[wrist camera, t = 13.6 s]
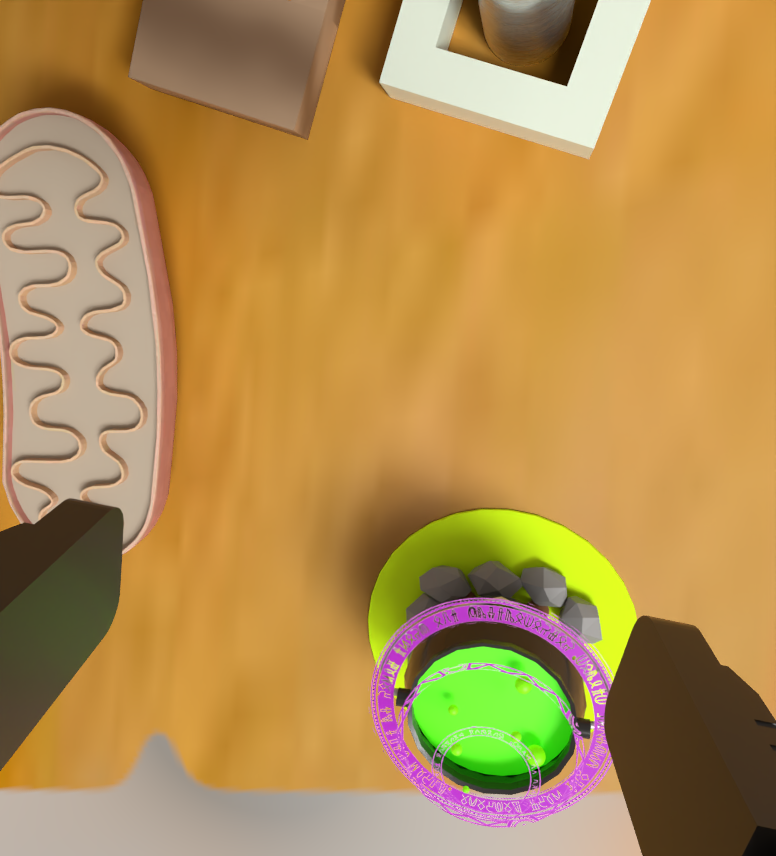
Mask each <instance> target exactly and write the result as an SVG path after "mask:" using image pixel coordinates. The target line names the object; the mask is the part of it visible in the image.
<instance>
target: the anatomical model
mask: <svg viewBox="0 0 776 856" xmlns="http://www.w3.org/2000/svg"><path fill="white" fill-rule="evenodd" d="M0 354H1V366H2V378H3V409H4V424H3V485H4V488H5V491H6V494H7V497H8V501H9V503H10V506H11V508H12V509H13V511H14V513H15V515H16V516H17V518H18V520H19V521H20V523H21V524H22V523H24V522H25V523H30V524H35V523H36V522H38V521H39V520H40V519H41V518H43V517H44V516H45V515H46V514H48V513H49V512H50V511H52V510H53V509H54V508H55V507H57V506H58V505H59V504H60V503H62V502H63V501H64V500H66V499H69V498H73V499H78V500H83V501H88V502H93V503H98V504H103V505H108V506H113V507H118V508H120V509H121V511H122V513H123V518H124V529H123V547H122V554H124V553H126V552H128V551H129V550H130V549H132V548H133V547H134V546H135V545H136V544H138V543H139V542H140V541H141V540H142V539H143V538H144V537H145V536H147V535H148V533H149V532H150V531H151V530H152V528H153V527H154V526H155V524H156V522H157V521H158V519H159V517H160V515H161V513H162V511H163V509H164V506H165V503H166V500H167V497H168V494H169V485H170V474H171V464H172V452H173V441H174V429H175V417H176V406H177V346H176V335H175V324H174V314H173V303H172V297H171V292H170V286H169V280H168V275H167V269H166V263H165V258H164V252H163V247H162V241H161V235H160V230H159V225H158V219H157V214H156V209H155V203H154V198H153V193H152V190H151V188H150V185H149V183H148V180H147V178H146V175H145V173H144V172H143V170H142V168H141V166H140V165H139V163H138V161H137V160H136V159H135V157H134V156H133V155H132V154H131V152H130V151H129V150H128V149H127V148H126V147H125V146H124V145H123V144H122V143H121V142H120V141H119V140H118V139H117V138H116V137H115V136H114V135H113V134H111V133H110V132H109V131H108V130H106V129H105V128H103V127H102V126H100V125H98V124H97V123H95V122H94V121H92V120H90V119H88V118H86V117H83V116H81V115H78V114H76V113H73V112H70V111H67V110H63V109H57V108H51V107H49V108H35V109H31V110H27V111H24V112H21V113H18V114H17V115H15V116H13V117H11V118H10V119H8V120H7V121H6V122H5V123H3V124H2V125H1V126H0Z"/></svg>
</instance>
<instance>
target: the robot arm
mask: <svg viewBox="0 0 776 856" xmlns="http://www.w3.org/2000/svg"><path fill="white" fill-rule="evenodd" d="M123 529H124V518H123V513H122V511H121V509H120V508H118V507H113V506H108V505H103V504H98V503H93V502H88V501H83V500H78V499H73V498H69V499H66V500H64V501H63V502H62V503H60V504H59V505H58V506H57V507H55V508H54V509H53V510H52V511H50V512H49V513H48V514H46V515H45V516H44V517H43V518H41V519H40V520H39V521H38V522H36V523H35V524H30V523H25V522H24V523H22V524H19V525H16V526H14V527H11V528H9V529H6V530H3V531H1V532H0V771H1V769H2V768H3V767H4V766H5V764H6V763H7V762H8V760H9V759H10V758H11V757H12V755H13V754H14V753H15V751H16V750H17V749H18V747H19V746H20V745H21V744H22V742H23V741H24V740H25V738H26V737H27V736H28V735H29V733H30V732H31V731H32V729H33V728H34V727H35V726H36V724H37V723H38V722H39V720H40V719H41V718H42V716H43V715H44V714H45V713H46V711H47V710H48V709H49V707H50V706H51V705H52V704H53V702H54V701H55V700H56V698H57V697H58V696H59V695H60V693H61V692H62V691H63V689H64V688H65V687H66V685H67V684H68V683H69V682H70V680H71V679H72V678H73V676H74V675H75V674H76V673H77V671H78V670H79V669H80V667H81V666H82V665H83V663H84V662H85V661H86V660H87V658H88V657H89V656H90V654H91V653H92V652H93V651H94V649H95V648H96V647H97V645H98V644H99V643H100V642H101V640H102V639H103V638H104V636H105V635H106V633H107V632H108V630H109V628H110V626H111V624H112V621H113V619H114V616H115V613H116V610H117V607H118V602H119V596H120V582H121V564H122V547H123ZM604 728H605V736H606V740H607V744H608V747H609V750H610V753H611V757H612V760H613V763H614V766H615V769H616V773H617V776H618V779H619V782H620V785H621V788H622V792H623V795H624V798H625V801H626V804H627V808H628V811H629V814H630V817H631V820H632V823H633V826H634V830H635V833H636V836H637V839H638V842H639V846H640V849H641V852H642V855H643V856H776V720H775V719H774V717H773V716H772V714H771V713H770V711H769V710H768V708H767V707H766V705H765V704H764V702H763V701H762V699H761V697H760V696H759V694H757V693H756V692H755V691H754V690H753V689H752V688H751V687H750V686H749V685H748V684H747V683H746V682H744V681H743V680H742V679H741V678H740V677H739V676H738V675H737V674H736V673H735V672H734V671H732V670H731V669H730V668H729V667H728V666H723V665H720V663H719V661H718V660H717V658H716V657H715V655H714V653H713V652H712V650H711V648H710V647H709V645H708V644H707V642H706V640H705V639H704V637H703V635H702V634H701V632H700V631H699V629H698V628H697V627H695V626H693V625H689V624H684V623H680V622H675V621H670V620H665V619H660V618H655V617H650V616H641V617H640V618H639V619H638V620H637V621H636V623H635V624H634V626H633V629H632V631H631V634H630V637H629V639H628V642H627V645H626V647H625V650H624V653H623V656H622V658H621V661H620V664H619V666H618V669H617V672H616V674H615V677H614V680H613V682H612V685H611V688H610V691H609V693H608V696H607V700H606V705H605V713H604Z"/></svg>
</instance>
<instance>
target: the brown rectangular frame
mask: <svg viewBox="0 0 776 856" xmlns="http://www.w3.org/2000/svg"><path fill="white" fill-rule="evenodd" d="M344 3H345V0H291V1H289V0H143V3H142V9H141V14H140V19H139V24H138V29H137V34H136V39H135V45H134V50H133V55H132V60H131V65H130V70H129V75H128V77H129V78H131V79H133V80H135V81H137V82H139V83H141V84H143V85H145V86H147V87H149V88H151V89H154V90H157V91H160V92H163V93H166V94H169V95H172V96H175V97H178V98H181V99H184V100H188V101H191V102H194V103H197V104H200V105H203V106H206V107H209V108H212V109H215V110H218V111H221V112H224V113H227V114H231V115H234V116H237V117H240V118H243V119H246V120H249V121H252V122H255V123H258V124H261V125H264V126H267V127H270V128H273V129H277V130H280V131H283V132H286V133H289V134H292V135H295V136H298V137H301V138H304V139H307V140H308V137H309V133H310V129H311V126H312V122H313V118H314V115H315V111H316V107H317V103H318V100H319V96H320V92H321V89H322V85H323V81H324V77H325V74H326V70H327V66H328V63H329V59H330V55H331V52H332V48H333V44H334V40H335V37H336V33H337V29H338V26H339V22H340V18H341V14H342V11H343V7H344Z"/></svg>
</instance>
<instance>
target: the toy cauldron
mask: <svg viewBox="0 0 776 856" xmlns="http://www.w3.org/2000/svg"><path fill="white" fill-rule="evenodd" d="M636 621H637V618H636V613H635V608H634V605H633V602H632V600H631V598H630V596H629V593H628V591H627V589H626V586H625V584H624V582H623V581H622V579H621V578H620V576H619V575H618V574H617V572H616V571H615V569H614V568H613V567H612V565H611V564H610V562H609V561H608V560H607V559H606V558H605V557H604V556H603V555H602V554H601V553H600V552H599V551H598V550H597V549H596V548H595V547H594V546H592V545H591V544H590V543H589V542H588V541H587V540H586V539H584V538H582V537H581V536H579V535H578V534H576V533H575V532H573V531H571V530H570V529H568V528H567V527H565V526H564V525H561V524H559V523H556V522H554V521H551V520H549V519H546V518H544V517H541V516H539V515H536V514H531V513H526V512H521V511H516V510H511V509H477V510H471V511H465V512H459V513H454V514H452V515H449V516H447V517H444V518H441V519H439V520H436V521H433V522H431V523H429V524H428V525H426V526H425V527H423V528H421V529H420V530H418V531H417V532H415V533H414V534H412V535H410V536H409V537H408V538H407V539H406V540H405V541H404V542H403V543H402V544H401V545H400V546H399V547H398V548H397V549H396V550H395V551H394V552H393V553H392V554H391V556H390V558H389V559H388V561H387V562H386V564H385V565H384V567H383V568H382V570H381V571H380V573H379V576H378V578H377V581H376V584H375V586H374V589H373V592H372V595H371V601H370V608H369V615H368V626H369V641H370V645H371V648H372V652H373V656H374V659H375V663H376V666H375V670H374V674H375V671H376V667H378V668H377V669H378V671H377V675H375V676H376V678H375V682H374V683H375V685H373V679H374V674H373V678H372V685H371V708H372V714H373V708H375V710H374V712H375V714H373V719H374V723H375V719H377V721H376V722H377V723H378V724H377V725H376V723H375V727H376V729H377V726H378V727H379V728H378V729H379V730H380V732H378V729H377V733H378V735H379V733H381V735H379V737H380V736H382V737H383V738H382V739H383V742H385V744H383V742H382V740H381V737H380V740H381V742H382V744H383V746H384V745H386V746H387V747H385V746H384V748H385V750H386V751H387V749H386V748H388V749H389V750H388V751H389V752H390V753H391V754H389V753H388V751H387V753H388V755H389V756H390V755H392V756H393V757H391V756H390V758H391V759H392V758H394V759H395V760H393V759H392V761H393V762H394V761H397V764H399V765H400V766H399V767H401V768H402V770H404V771H405V773H407V776H410V779H411V780H412V779H413V782H414V781H415V782H416V784H418V785H419V787H420V788H419V787H418V786H417V785H416V784H414V783H413V782H412V781H411V780H410V779H409V778H408V777H407V776H406V775H405V774H404V773H403V772H402V770H401V769H400V768H399V767H398V766H397V764H396V763H395V762H394V763H395V765H396V766H397V767H398V768H399V770H400V771H401V772H402V773H403V774H404V775H405V776H406V777H407V778H408V779H409V780H410V781H411V782H412V783H413V784H414V785H415V786H416V787H418V788H419V789H420V790H421V791H422V793H423V794H424V795H425V793H426V792H424V791H423V789H425V790H426V791H428V790H427V789H426V788H425V787H424V786H423V785H422V784H424V783H425V784H424V785H425V786H426V787H427V788H429V789H430V790H432V791H433V792H435V793H436V794H438V795H440V796H441V797H443V798H444V799H445V800H446V799H447V800H449V801H451V802H453V803H454V804H455V803H456V804H458V805H461V806H464V807H467V808H470V809H472V810H475V811H479V812H484V813H493V814H503V815H504V814H505V815H507V816H508V815H515V814H518V815H520V814H526V813H532V812H537V811H541V810H546V809H548V808H550V807H553V806H554V808H553V809H551V810H548V811H545V812H542V813H537V814H532V815H527V816H518V815H516V816H514V817H506V816H505V817H504V816H498V815H497V816H493V815H486V814H481V813H477V812H473V811H471V810H470V811H469V810H467V809H463V808H464V807H463V808H461V807H458V806H456V805H453V804H451V803H449V802H448V801H447V800H446V801H445V800H443V799H441V798H440V797H438V796H436V795H435V794H433V793H431V792H430V791H428V792H429V794H431V795H432V796H433V797H434V796H436V798H435V797H434V798H433V797H432V796H430V795H429V794H427V793H426V794H427V795H429V796H430V797H429V796H427V795H425V796H426V797H427V798H429V799H431V800H433V801H436V802H438V803H440V804H441V806H442V807H443V808H444V809H445V810H446V811H445V812H447V813H449V814H451V815H453V816H454V815H457V816H463V817H469V818H471V819H473V820H475V821H477V822H479V823H481V824H478V823H474V822H471V823H474V824H477V825H483V826H490V827H510V826H511V824H512V822H513V821H514V822H516V821H518V822H517V823H516V824H515V825H514V827H515V826H516V825H517V824H518V823H519V822H521V821H530V820H532V819H534V820H536V821H539V820H541V819H543V818H545V817H547V816H549V815H551V814H554V813H557V812H559V811H561V810H564V809H566V808H568V807H570V806H571V805H573V804H575V803H577V802H578V801H579V800H581V799H582V798H584V797H585V796H586V795H587V794H589V793H590V792H591V791H592V790H593V789H594V788H595V787H596V786H597V785H598V783H599V782H600V781H601V780H602V778H603V777H604V775H605V774H606V772H607V771H608V769H609V767H610V765H611V763H612V761H613V760H611V762H610V764H609V763H608V761H609V760H610V757H611V753H610V754H609V757H608V759H607V761H606V763H605V765H604V767H603V768H602V770H601V772H600V773H599V775H598V776H597V777H596V778H595V780H594V781H593V782H592V783H591V784H590V785H589V786H588V787H587V788H586V789H585V790H584V791H583V792H582V793H580V794H579V795H578V796H576V797H575V798H573V799H572V800H570V801H569V802H567V801H568V799H569V798H571V797H572V796H574V795H575V794H577V793H578V792H579V791H580V790H582V789H583V788H584V787H585V786H586V785H587V784H588V783H589V782H590V781H591V780H592V778H593V777H594V776H595V774H596V773H597V772H598V770H599V769H600V767H601V765H602V763H603V761H604V759H605V757H606V755H607V752H608V749H609V747H608V744H605V743H607V742H606V741H607V740H606V737H603V740H606V741H603V742H605V743H602V744H599V743H597V742H596V740H597V741H601V740H598V739H596V738H601V737H602V736H605V733H604V731H605V728H601V727H604V726H603V725H604V713H605V705H606V700H607V696H608V693H609V691H610V688H611V685H612V682H613V680H614V677H615V674H616V672H617V669H618V666H619V664H620V661H621V658H622V656H623V653H624V650H625V647H626V645H627V642H628V639H629V637H630V634H631V631H632V629H633V626H634V624H635V623H636ZM379 672H380V674H381V675H380V680H379V684H382V683H383V684H382V685H381V686H382V688H385V687H386V688H385V689H382V688H381V687H380V685H379V686H378V693H379V692H380V691H385V692H380V694H379V695H378V709H379V715H380V719H381V720H382V718H385V717H387V716H388V715H390V714H391V715H392V716H391V717H390V716H389V717H390V719H391V718H392V720H393V721H389V720H390V719H389V718H388V717H387V718H385V719H389V720H388V721H389V722H388V721H386V720H385V721H386V722H382V721H381V724H382V727H383V730H384V732H385V735H386V738H387V740H388V742H389V744H390V745H391V747H392V749H393V751H394V753H395V754H396V756H397V757H398V758H399V760H400V761H401V762H402V764H403V765H404V766H405V767H406V768H405V769H407V771H408V772H407V771H406V770H405V769H404V768H403V767H402V765H401V764H400V763H399V762H398V760H397V759H396V757H395V756H394V754H393V753H392V751H391V750H390V748H389V746H388V744H387V742H386V740H385V738H384V735H383V733H382V730H381V727H380V724H379V720H378V716H377V710H376V684H377V678H378V674H379ZM372 686H374V689H373V690H374V692H373V694H374V696H373V697H374V700H372ZM384 693H387V694H390V695H387V694H385V696H386V697H384ZM394 696H395V698H396V706H401V707H402V709H401V711H400V714H401V712H402V719H401V720H402V721H401V723H400V726H399V728H398V724H397V722H396V718H395V713H394V703H393V702H394V701H393V697H394ZM387 697H390V698H387ZM372 701H374V703H373V704H374V706H375V707H372ZM386 707H388V708H391V710H387V711H392V712H390V713H388V714H386V712H380V709H385V708H386ZM404 708H405V709H406V710H407V711H406V713H405V715H404ZM381 711H386V710H381ZM369 713H370V712H369ZM407 713H408V726H409V728H410V731H411V733H412V736H413V738H414V741H415V743H416V746H417V748H418V749H419V751H420V752H421V753H422V754H423V755H424V757H425V758H426V759H427V760H428V761H429V763H430V764H431V765H432V774H431V773H430V772H429V771H428V770H427V769H426V768H424V767H423V766H422V765H421V764H420V763H419V761H418V760H417V759H416V758H415V757H414V755H413V754H412V753H411V751H410V750H409V748H408V747H407V745H406V743H405V742H404V740H403V723H404V720H405V718H406V716H407ZM400 714H399V718H400ZM374 715H376V718H374ZM398 722H399V719H398ZM373 729H374V728H373ZM400 729H401V733H400V731H399V730H400ZM599 729H600V730H599ZM389 730H390V731H396V730H397V731H396V732H397V733H394V732H391V733H394V734H392V736H391V734H388V735H387V734H386V732H389ZM593 730H594V734H593V739H592V743H591V746H590V749H589V751H588V753H587V752H586V753H587V755H586V754H585V749H584V744H583V751H584V756H585V755H586V757H585V759H584V757H583V754H582V752H581V749H580V747H579V740H582V743H583V739H582V738H586V739H590V733H591V732H592V731H593ZM601 730H604V731H601ZM374 732H375V731H374ZM389 733H390V732H389ZM398 733H399V734H398ZM601 733H604V734H601ZM598 734H601V735H602V736H596V735H598ZM398 737H399V738H398ZM396 738H397V739H396ZM591 738H592V737H591ZM394 739H396V740H394ZM389 740H393V741H391V743H393V744H391V743H390V741H389ZM397 741H398V742H397ZM394 742H397V743H394ZM590 742H591V741H590ZM398 744H400V745H399V746H401V747H400V748H401V751H400V749H398V747H397V746H398ZM575 744H576V745H577V748H576V749H577V758H576V768H575V771H573V772H574V774H573V775H572V776H571V777H570V778H569V779H567V780H566V781H565V782H564V783H562V784H561V785H559V786H558V787H556V788H554V789H552V790H550V791H548V792H546V793H544V794H541V795H538V794H539V790H540V786H542V785H543V784H545V783H546V782H548V781H549V780H551V779H552V778H554V777H555V776H557V775H558V774H559V773H560V772H561V770H562V769H563V768H564V766H565V765H566V763H567V762H568V761H569V759H570V758H571V756H572V755H573V753H574V749H575ZM595 744H598V745H600V746H598V745H595ZM589 745H590V744H589ZM601 746H603V747H604V748H606V750H607V751H606V753H605V754H602V753H604V752H602V751H605V750H603V749H601V748H603V747H601ZM394 747H397V748H395V749H398V750H394ZM403 747H404V748H403ZM595 747H597V749H599V750H602V751H599V750H596V749H595ZM598 747H601V748H598ZM382 750H383V749H382ZM593 750H596V751H598V752H602V753H598V752H596V751H593ZM405 751H408V752H409V756H408V757H407V755H408V754H406V753H407V752H405ZM578 751H579V752H580V755H581V757H582V761H581V763H580V765H578V768H577V759H578ZM383 752H384V751H383ZM592 752H595V753H598V754H600V755H603V756H600V755H598V754H596V756H597V757H598V758H599V759H600V760H601V761H600V760H595V759H593V758H596V759H598V758H597V757H595V756H591V757H593V758H591V757H590V755H591V754H592V755H594V754H593V753H592ZM398 753H399V754H398ZM397 754H398V755H397ZM401 755H403V756H401ZM399 756H401V757H399ZM405 757H406V758H405ZM403 758H404V759H403ZM589 758H590V759H592V760H594V761H596V762H597V763H598V764H599V766H598V768H593V767H597V766H593V767H590V766H588V765H586V764H592V765H595V764H596V765H598V764H597V763H596V762H594V761H593V762H594V763H595V764H594V763H592V762H591V761H590V760H589ZM401 759H402V760H401ZM415 762H416V763H415ZM413 763H415V764H414V765H416V764H418V766H420V767H419V768H417V767H418V766H417V767H416V768H417V769H416V770H414V771H413V769H414V768H415V766H414V765H413V766H414V767H411V765H412V764H413ZM607 764H609V766H608V768H607V770H606V771H605V773H604V775H603V776H602V778H601V779H600V780H599V781H598V783H597V784H596V785H595V786H594V787H593V788H592V789H591V790H590V791H589V788H591V786H592V785H594V782H596V780H597V779H598V777H599V776H600V777H601V773H603V770H605V767H607V766H606V765H607ZM592 765H591V766H592ZM409 766H410V767H409ZM421 768H422V770H423V772H427V773H423V772H420V771H422V770H421ZM433 768H434V770H435V769H436V770H437V771H439V772H440V773H441V776H442V774H443V775H444V776H446V777H447V778H449V779H450V780H452V781H453V782H455V783H456V784H458V785H461V786H464V787H463V792H462V791H459V790H457V789H455V788H453V787H451V786H449V785H447V784H446V783H445V782H444V780H443V776H442V780H443V782H442V781H441V780H439V779H438V778H436V776H437V775H438V774H439V773H438V774H436V773H435V774H436V775H435V776H434V775H433ZM395 769H396V768H395ZM436 770H435V771H436ZM579 770H580V771H581V775H580V771H579ZM411 771H412V772H411ZM437 771H436V772H437ZM419 772H420V773H419ZM573 772H572V773H573ZM418 773H419V775H418V776H420V775H421V774H422V773H423V775H422V776H420V777H417V774H418ZM572 773H571V774H572ZM410 774H411V775H410ZM571 774H570V775H571ZM583 774H585V775H583ZM586 774H587V775H588V778H589V780H582V778H583V779H587V775H586ZM428 775H430V776H429V777H428V779H430V778H432V777H433V778H432V779H431V780H430V781H429V780H427V779H426V778H424V779H423V781H424V783H423V781H422V778H423V777H424V776H425V777H427V776H428ZM570 775H569V776H570ZM577 775H578V776H577ZM579 775H580V776H579ZM582 775H583V776H582ZM438 776H439V775H438ZM438 776H437V777H438ZM569 776H568V777H569ZM581 776H582V778H581ZM413 777H414V778H415V779H416V780H415V779H414V778H413ZM576 778H577V779H578V780H579V781H577V780H576ZM433 780H434V782H433V783H432V784H431V782H432V781H433ZM437 780H438V781H440V782H438V781H437ZM564 780H565V779H564ZM564 780H563V781H564ZM571 780H572V781H573V782H572V781H571ZM436 781H437V783H436ZM568 781H569V786H570V785H571V786H572V787H571V786H570V787H571V788H572V790H570V789H571V788H570V787H569V786H568V785H565V784H566V783H567V782H568ZM561 782H562V781H561ZM561 782H560V783H561ZM575 782H577V783H575ZM580 782H582V783H583V784H584V786H583V787H580V786H579V785H581V786H582V785H583V784H581V783H580ZM441 783H443V784H444V785H445V787H444V788H443V786H444V785H443V784H442V785H441ZM560 783H558V784H560ZM430 784H431V785H430ZM434 784H435V785H434ZM558 784H557V785H558ZM578 784H579V785H578ZM429 785H430V786H431V787H432V786H433V785H434V787H433V788H431V787H430V786H429ZM450 785H451V784H450ZM440 786H441V788H440ZM452 786H453V785H452ZM555 786H556V785H555ZM555 786H554V787H555ZM449 787H451V788H452V789H451V790H450V791H449V790H448V788H449ZM454 787H455V786H454ZM538 787H539V790H538V793H537V796H535V797H531V798H527V799H525V798H526V797H530V796H533V795H531V794H530V796H527V795H528V793H529V790H532V789H537V788H538ZM439 788H440V790H439ZM445 788H446V790H445V791H444V789H445ZM456 788H457V787H456ZM469 788H470V789H473V790H476V791H479V792H482V793H489V794H508V795H512V794H516V793H520V792H524V791H528V793H527V794H526V796H525V797H524V799H521V800H507V801H506V800H492V799H485V798H480V797H476V796H473V795H470V794H467V793H469ZM552 788H553V787H552ZM458 789H459V788H458ZM550 789H551V788H550ZM575 789H576V790H577V792H574V791H576V790H575ZM441 790H442V791H441ZM547 790H549V789H547ZM547 790H545V791H547ZM557 790H558V791H559V792H560V794H561V795H562V796H561V795H560V794H559V795H560V798H559V799H558V798H557V797H559V795H558V793H557ZM586 790H588V791H589V792H588V793H587V794H586V795H584V796H583V793H586ZM438 791H439V792H440V791H441V792H440V794H439V793H438ZM443 791H444V792H443ZM532 791H534V790H532ZM545 791H543V792H545ZM442 792H443V793H442ZM441 793H442V794H441ZM531 793H535V791H534V792H531ZM540 793H542V792H540ZM551 793H553V794H554V795H556V796H557V797H555V798H556V799H558V800H556V799H555V798H554V797H553V795H552V794H551ZM472 794H473V793H472ZM549 794H550V796H549V797H550V798H551V799H552V800H553V802H554V804H550V802H551V803H553V802H552V801H551V799H550V798H549V797H548V799H549V801H550V802H549V801H548V800H547V797H544V796H548V795H549ZM463 795H464V797H467V796H469V797H470V796H471V800H472V803H473V802H474V800H475V799H476V798H477V803H476V805H475V803H474V804H473V805H475V806H470V805H471V801H470V805H469V797H467V798H465V799H466V801H467V803H466V804H462V802H463V803H465V802H466V801H465V800H462V799H463V798H464V797H463ZM475 795H476V794H475ZM535 795H536V794H535ZM580 795H582V796H583V797H582V798H580ZM541 796H542V797H543V799H544V801H545V802H542V803H540V805H541V806H547V807H541V806H540V805H539V802H540V800H541V801H543V799H542V797H541ZM431 797H432V798H431ZM538 797H539V799H540V800H539V799H538ZM437 798H439V799H440V800H443V802H447V804H448V803H449V804H450V805H451V806H453V807H454V808H452V807H450V806H448V805H446V804H444V803H442V802H440V801H439V800H438V799H437ZM491 798H492V797H491ZM577 798H580V799H579V800H577ZM478 799H479V800H480V801H481V802H483V801H484V800H485V802H483V805H484V806H485V808H483V809H482V810H480V809H479V807H480V808H482V807H483V805H482V804H480V801H479V800H478ZM501 799H502V798H501ZM504 799H511V798H504ZM512 799H515V798H512ZM532 799H533V801H532ZM461 800H462V802H461ZM560 800H561V801H560ZM573 800H577V801H576V802H574V803H573V804H571V805H569V806H568V807H566V808H563V809H561V810H559V811H556V810H558V809H560V807H563V806H567V804H570V802H573ZM517 801H519V804H520V808H521V812H522V813H521V812H517V811H516V809H517V810H518V808H519V804H518V803H517V805H516V803H513V804H514V806H515V807H516V809H515V807H514V806H513V804H512V802H517ZM530 801H531V803H532V804H534V803H537V804H538V806H539V808H540V809H539V810H535V811H532V810H533V808H534V809H536V808H537V809H538V807H537V805H535V806H536V808H535V806H534V805H533V808H532V806H531V805H532V804H531V803H530ZM564 801H565V802H564ZM431 802H432V801H431ZM489 802H490V806H492V803H493V802H495V803H496V807H497V803H498V802H499V803H500V805H501V808H502V804H503V810H502V811H501V812H497V811H496V809H495V803H494V804H493V807H487V809H488V810H489V811H492V812H489V811H488V810H487V809H486V806H487V805H489ZM501 802H502V804H501ZM509 802H510V804H509V807H510V808H511V809H510V808H509V807H507V808H506V810H505V809H504V808H505V807H506V805H505V804H504V803H506V804H508V803H509ZM562 802H564V803H563V804H562V805H560V806H559V807H557V805H558V804H560V803H562ZM566 802H567V803H566ZM432 803H433V802H432ZM478 804H480V805H479V807H478V806H477V805H478ZM445 806H446V807H448V808H450V809H452V810H454V809H455V811H456V810H457V812H458V811H460V810H458V809H459V808H460V809H462V810H463V811H464V810H465V811H466V812H467V813H466V815H465V812H462V811H460V812H462V813H463V815H460V814H454V813H451V812H450V811H449V810H447V808H446V807H445ZM517 806H518V808H517ZM455 807H458V809H457V808H455ZM556 807H557V808H556ZM498 808H499V811H500V806H499V804H498ZM498 808H497V810H498ZM442 810H443V809H442ZM510 810H511V811H510ZM507 811H510V813H508V812H507ZM519 811H520V809H519ZM555 811H556V812H555ZM460 812H459V813H460ZM468 812H470V813H471V812H473V814H475V813H477V815H482V816H483V815H484V817H480V816H476V815H472V814H470V813H469V815H467V814H468ZM462 813H461V814H462ZM545 814H548V815H545ZM470 815H472V816H476V817H480V818H485V819H491V818H487V816H490V817H492V816H493V817H496V818H497V817H498V818H500V817H501V818H506V819H503V820H499V819H494V818H493V819H491V820H486V821H494V822H496V823H491V824H485V823H483V822H481V821H479V820H477V819H478V818H475V817H472V816H470ZM540 815H544V816H540ZM457 816H455V817H457ZM529 816H530V817H529ZM535 816H540V817H542V818H540V817H535ZM520 817H523V818H524V817H527V818H528V817H529V819H527V818H525V819H521V820H520ZM457 818H459V817H457ZM507 818H508V819H511V818H519V820H507ZM538 818H540V819H538ZM459 819H461V818H459ZM485 819H481V820H485ZM461 820H464V819H461ZM464 821H467V820H464ZM536 821H534V822H536ZM468 822H470V821H468ZM530 822H532V821H530ZM500 823H508V825H507V826H491V825H495V824H500ZM523 825H525V824H523ZM512 826H513V824H512ZM512 826H511V827H512Z"/></svg>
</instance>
